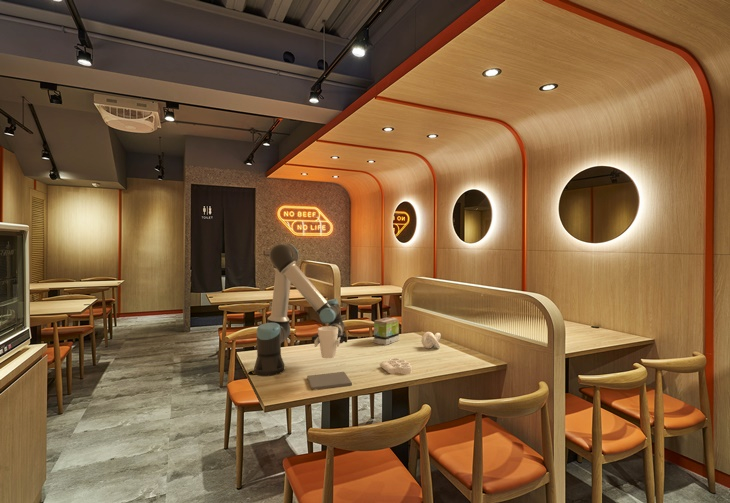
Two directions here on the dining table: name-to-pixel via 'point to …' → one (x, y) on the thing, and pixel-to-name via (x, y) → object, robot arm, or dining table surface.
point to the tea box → (386, 330)
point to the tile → (329, 380)
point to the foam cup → (328, 341)
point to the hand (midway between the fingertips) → (326, 343)
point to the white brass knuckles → (396, 366)
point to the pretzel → (431, 340)
